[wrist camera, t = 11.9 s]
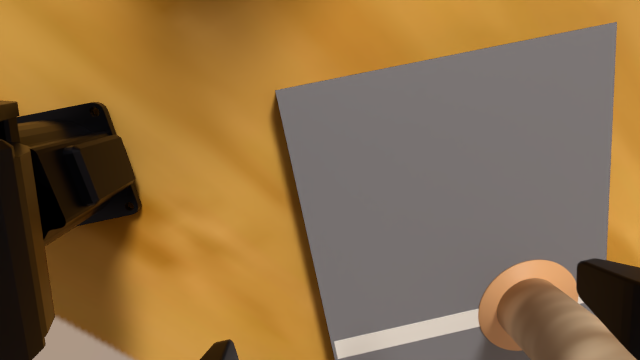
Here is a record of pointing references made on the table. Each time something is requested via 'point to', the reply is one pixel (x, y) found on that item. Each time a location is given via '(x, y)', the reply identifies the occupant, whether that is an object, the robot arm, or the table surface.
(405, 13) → the table surface
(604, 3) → the table surface
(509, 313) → the beige cylindrical canister
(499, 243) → the subfloor panel
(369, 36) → the table surface
